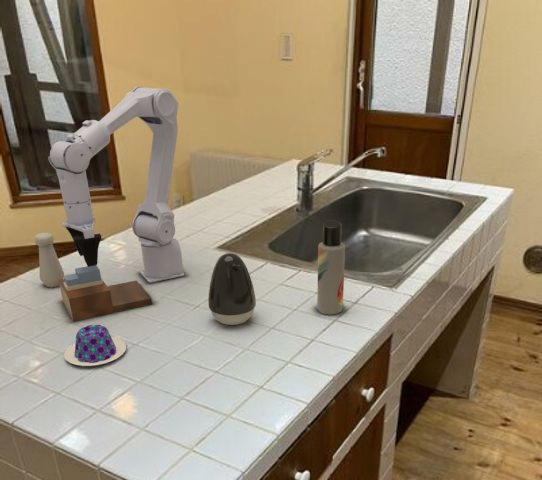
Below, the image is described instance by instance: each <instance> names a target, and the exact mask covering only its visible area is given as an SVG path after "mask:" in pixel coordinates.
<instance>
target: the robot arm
mask: <svg viewBox="0 0 542 480" xmlns="http://www.w3.org/2000/svg"><path fill="white" fill-rule="evenodd" d="M174 95H175V94H173V92H172V91H171V90H170V89H168V88H162V87H161V88H155V87H154V88H153V87H143V86H136V87H134V88H132V89H131V90H130V91H128V92H126V93H125V95H124V98H123V99H122V100H121V101H119V102H118V103H117V104H116V105H115V107H113V108H112V109H111V110H110V111H108V113H106V114H105V115H104V116H103V117H102V118H101V119H100V120H99V121H98V120H96V119H90V120H89V119H88V120H84V121H83V122H82V126H81V127H80V128H79V129H78V130H76V131H75V132H74V133H72V134H71V133H69V134H68V135H67V136H66V139H65V141H64V140H59V141H57V142H55V143H53V145H52V146H51V149H50V151H49V156H48V157H47V159H48V162H49V164H50V165H51V166H52V168H53V169H55V172H56V176H57V177H58V183H59V188H60V192H61V193H60V194H61V198H62V202H63V208H64V211H65V212H64V213H65V217H66V221H62V222H61V225H62V227H63V228H65V229H66V230H67V231H68V233H69V234H70V236H71V238H72V240H73V243H74V245H75V248H76V251H77V252H78V255H79V256H80V257H83V259H84V262H85V264H86V267H87V266H88V267H90V266H95V265H98V262H99V261H98V260H99V247H100V243H101V241H102V235H101V233H95V232H94V228H95V225H96V223H97V221H96V218H95V216H94V210H93V205H92V199H91V194H90V189H89V182H88V176H87V172H86V171H87V169H88V168H89V166H90V161H91V159H92V158H93V157H94V156H95V155H97V154H99V152H100V151H102V150H103V149H104V148H105V147H106V146H108V145H109V144H110V142H111V135H112V134H113V133H115V132H117V131H118V130H119V129H121V128H122V127H124V126H125V125H126V124H128V123H129V122H131V121H132V120H134V119H135V118H139V119H140V120H141V121H142V122H143V123H144V124H146V125H147V127H148V128H149V130H150V131H151V132H152V142H151V149H150V156H149V157H150V158H149V164H148V172H147V173H148V174H147V181H146V187H145V197H144V201H143V202H142V203H140V204H139V205H138V206H137V208H136V214H135V215H134V217H133V219H132V223H131V229H132V232H133V234H134V235H135V237H138V242H140V249H141V255H142V256H141V257H142V262H143V270H140V271H139V273H140V275H141V276H142V277H143V278H144V279H145V280H146V281H147V282H148V283H149V284H151V283H156V282H160V281H165V280H170V279H175V278H180V277H184V276H185V273H184V266H183V256H182V248H181V245H180V243H179V240H178V239H177V238H175V237H174V236H175V234H176V225H175V213H174V212H173V210H172V209H171V208H170V206H169V197H170V190H171V189H170V188H171V182H172V175H173V169H174V168H173V167H174V160H175V154H176V146H177V138H178V133H179V132H178V131H179V130H178V127H179V126H178V120H177V117H178V109H179V102H178V100H177V99H176V97H175V96H174Z"/></svg>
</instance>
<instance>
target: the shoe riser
mask: <svg viewBox="0 0 542 480" xmlns="http://www.w3.org/2000/svg"><path fill="white" fill-rule="evenodd" d="M101 279H102V277H101ZM102 281H103V284H101V285H96V286H91V287H86V288H81V289H76V290H71V291H67V290H66V288H65V286H64V283H63V282H65V280H64V278H63V279H62V280H59V285H60V286H59V289H60V294H61V298H62V302H63V304H64V306H65V308H66V310H67V312H68V315H69V316H70V318H71V319H72V321H73V322H77V321H82V320H87V319H91V318H96V317H100V316H105V315H110V314H114V313H118V312H122V311H126V310H131V309H136V308H140V307H146V306H150V305H153V301H152V297H151V296H150V294H148V292H147V291H146V289H144V287H143V286H142V285H141V284H140V283H139V282H138V280H132V281H128V282H123V283H118V284H112V285H107V284H106V282H105V281H104V280H103V279H102Z"/></svg>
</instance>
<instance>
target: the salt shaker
mask: <svg viewBox="0 0 542 480" xmlns="http://www.w3.org/2000/svg"><path fill="white" fill-rule="evenodd" d="M54 240H55V239H54V236H53V234H52V233H50V232H40V233H37V234H35V236H34V243H35V245H36V246H38V258H39V259H38V260H39V263H38V265H39V279H40V281H41V282H42V283H43V284H44V285H45V287H46V288H56V287H60V285H59V280H62V279H64V276H65V272H64V270H63V267H62V265H61V262H60V260H59V257H58V255H57V252H56V250H55V248H54V244H53V243H54V242H55V241H54Z"/></svg>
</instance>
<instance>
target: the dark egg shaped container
mask: <svg viewBox="0 0 542 480" xmlns="http://www.w3.org/2000/svg"><path fill="white" fill-rule="evenodd" d="M210 277H211V278H210V283H209V289H208V298H207V299H208V300H207V303H208V308H209V310H210V312H211V315H212V316H213V317H214V319H215V320H216V321H217V322H219V323H220V324H223V325H227V326H237V325H241V324H243V323H245V322H247V321H248V320H249V319H250V318H251V317H252V316H253V314H254V312H255V308H256V306H257V299H256V293H255V288H254V283H253V281H252V278H251V275H250V272H249V270H248V267H247V265H246V264H245V262H244V261H243V259H242V258H241V256H239V255H238V254H236V253H233V252H227V253H223V254H222V255H221V256H220V257H218V259H217V260H216V262H215V264H214V267H213V270H212V273H211V276H210Z"/></svg>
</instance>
